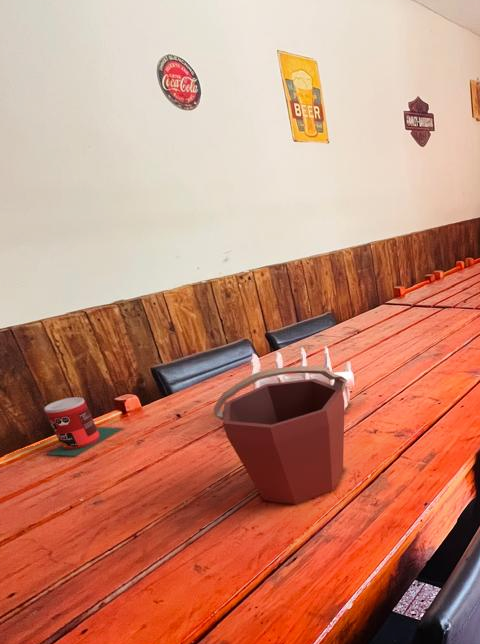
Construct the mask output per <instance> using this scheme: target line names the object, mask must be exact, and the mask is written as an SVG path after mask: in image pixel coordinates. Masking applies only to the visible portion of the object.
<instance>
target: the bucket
mask: <svg viewBox="0 0 480 644" xmlns="http://www.w3.org/2000/svg"><path fill="white" fill-rule="evenodd" d="M332 372H333V371H332ZM332 372H330V371H329V370H327V369H326V368H324V367H323V365H307V366H301V365H298V366H297V365H295V366H283V368H270V369H266V370H263V371H262V370H261V371H260V372H258V373H255V374H253V375H252V374H251V375H250V376H248V377H246V378H244V379H243V380H241V381H239V382H237V383H236V384H234V385H233V386H231V387H230V388H229V389H227V390H225V391H224V392H222V394H221V395H220V397H219V399H218V400H217V402H216V403H215V404H214V407H213V410H212V411H213V413H212V415H213V416H214V418H216V419H218V420H221V421H222V425H223V429H224V432H225V434H226V435H225V436H226V438H227V440H228V441H229V443H230V445H231V447H232V448H233V450H234V452H235V454H236V455H237V457H238V458H239V459H238V460H240V462H241V464H242V465H243V468H244V469H245V471H246V472H247V474H248V476H249V477H250V479H251V481H252V483H253V484H254V486H255V488H256V490H257V491H258V493H259V495H260V496H261V498H262V500H263V501H269V502H274V503H282V504H289V505H298V504H301V503H303V502H306V501H309V500H311V499H314V498H316V497H318V496H321V495H324V494H327V493H329V492H331V491H333V490H334V488H335V486H336V484H337V483H338V481H339V479H340V477H341V475H342V473H343V471H344V449H345V448H344V447H345V446H344V445H345V444H344V443H345V411H344V405H345V402H344V397H343V391H344V388H345V385H346V382H347V380H346V379H345V378H343V377H342V376H340V375H337V374H335V373H336V372H333V373H332ZM299 373H309V374H322V375H324V376H325V377H327V378H328V379H330V380H333V379H334V384H333V385H330V384H327V383H325V382H322V381H319V380H317V379H308V380H299V381H290V382H281V383H273V384H265V385H263V386H261V387H259V388H257V389H254V388H253V389H251V390H250V391H248V392H245V393H244V394H241V395H239V396H236V397H234V396H235V395H237V394H238V393H239V392H240V391H243V389H246V388H247V387H249V386H251V385H252V384H253V383H254V382H256V381H258V380H260V379H264V378H268V377H276V376H277V375H282V374H285V375H291V374H299ZM232 397H234V398H232ZM230 398H232V399H230ZM229 399H230V400H229ZM227 400H228V401H227ZM223 406H224V407H223ZM222 408H223V410H221V409H222Z"/></svg>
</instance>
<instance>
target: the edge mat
mask: <svg viewBox="0 0 480 644" xmlns="http://www.w3.org/2000/svg"><path fill="white" fill-rule="evenodd" d="M96 428H97V430H98V433H99V440H98V441H96V442H95V443H93V444H91V445H89V446H86V447H83V448H80V449H74V450H67V449H64V448H63V447H62V445H61V446H60V447H58V448H56V449H54V450H52V451H50V452H49V453H47V456H60V457H61V456H63V457H76V456H78V455H80V454H81V453H83V452H84V451H86V450H88V449H90V448H92V447H93V446H95V445H97V444H98V443H100V442H102V441H103V440H105V439H107V438H109V437H111V436H112V435H114V434H115V433H117V432H119V431H120V430H122V429H121V428H111V427H110V428H109V427H96Z"/></svg>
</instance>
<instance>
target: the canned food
mask: <svg viewBox="0 0 480 644" xmlns="http://www.w3.org/2000/svg"><path fill="white" fill-rule="evenodd" d="M43 410H44V413H45V414H46V417H47V419H48V421H49V423H50V425H51V427H52V429H53V431H54V434H55V435H56V437H57V440H58V442H59V444H60V445H61V446H62V447H63V448H64V449H67V450H74V449H80V448H83V447H86V446H89V445H91V444H93V443H95V442H96V441H98V440H99V433H98V430H97V428H98V427H97V426H96V424H95V421H94V419H93V417H92V414H91V412H90V409H89V407H88V405H87V403H86V400H84V398H83V397H77V396H74V397H66V398H63V399H59V400H56V401H53V402H51V403H48V404H47V405H46V406H44V408H43Z"/></svg>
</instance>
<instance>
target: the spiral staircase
mask: <svg viewBox="0 0 480 644" xmlns="http://www.w3.org/2000/svg"><path fill="white" fill-rule="evenodd" d="M329 351H330V350H329V348H328V346H327V345H324V358H323V359H324V360H323V361H324V362H323V365H322V366H323V367H324V368H326V369H327V370H329V371H330V372H332V373H335V374H337V375H340V376H342V377H343V378H345V379H346V380H347V382H346V385H345V388H344V391H343V397H344V402H345V405H344V412H346V408H348V405H349V404H348V403H350V402H351V401H350V397H351V396H350V395H351V393H350V391H352V387H355V379H354V377H355V376H354V372H353V371H352V363H351V361H346V364H344V368H345V369H344V371H338V372H333V368H332V364H331V359H330V352H329ZM251 356H252V357H251V358H252V359H250V367H251V375H253V374H255V373H258V372H261V368H262V367H261V366H262V364H261V362H260V360H259V358H260V357H258V355H257V354H256V353H255V352H254V353H253V352H252V354H251ZM275 357H276V358H275V361H274V362H275V367H276V368H283V367H284V361H283V360H284V359H283V356H282V354H281V352H279V351H276V352H275ZM300 360H301V361H300V366H308V362H307V353H306V351H305V348H304V347H300ZM276 368H275V369H276ZM308 379H317V380H319V381H322V382H325V383H327V384H330V385H333V384H334V379H333V380H330V379H328V378H327V377H325V376H324V375H322V374H317V373H297V375H295V374H294V375H286V374H282V375H277V376H272V377H268V378H264V379H260V380H258V381H256V382H254V383H252V384H253V385H252V387H253V390H254V389H257V388H259V387H261V386H263V385H265V384H273V383H281V382H290V381H299V380H308Z"/></svg>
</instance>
